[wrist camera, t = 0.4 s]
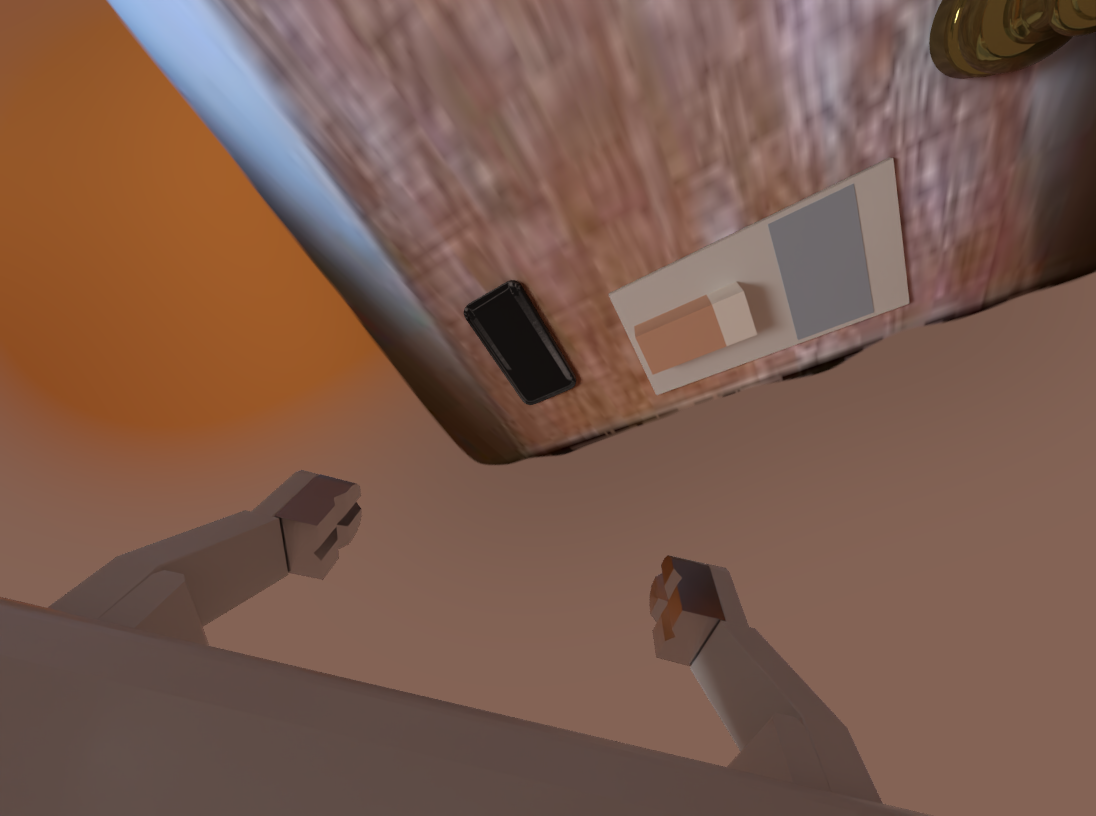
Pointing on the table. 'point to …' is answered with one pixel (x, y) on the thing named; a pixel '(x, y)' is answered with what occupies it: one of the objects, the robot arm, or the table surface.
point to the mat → (786, 274)
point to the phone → (520, 343)
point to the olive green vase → (1004, 33)
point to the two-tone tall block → (696, 328)
